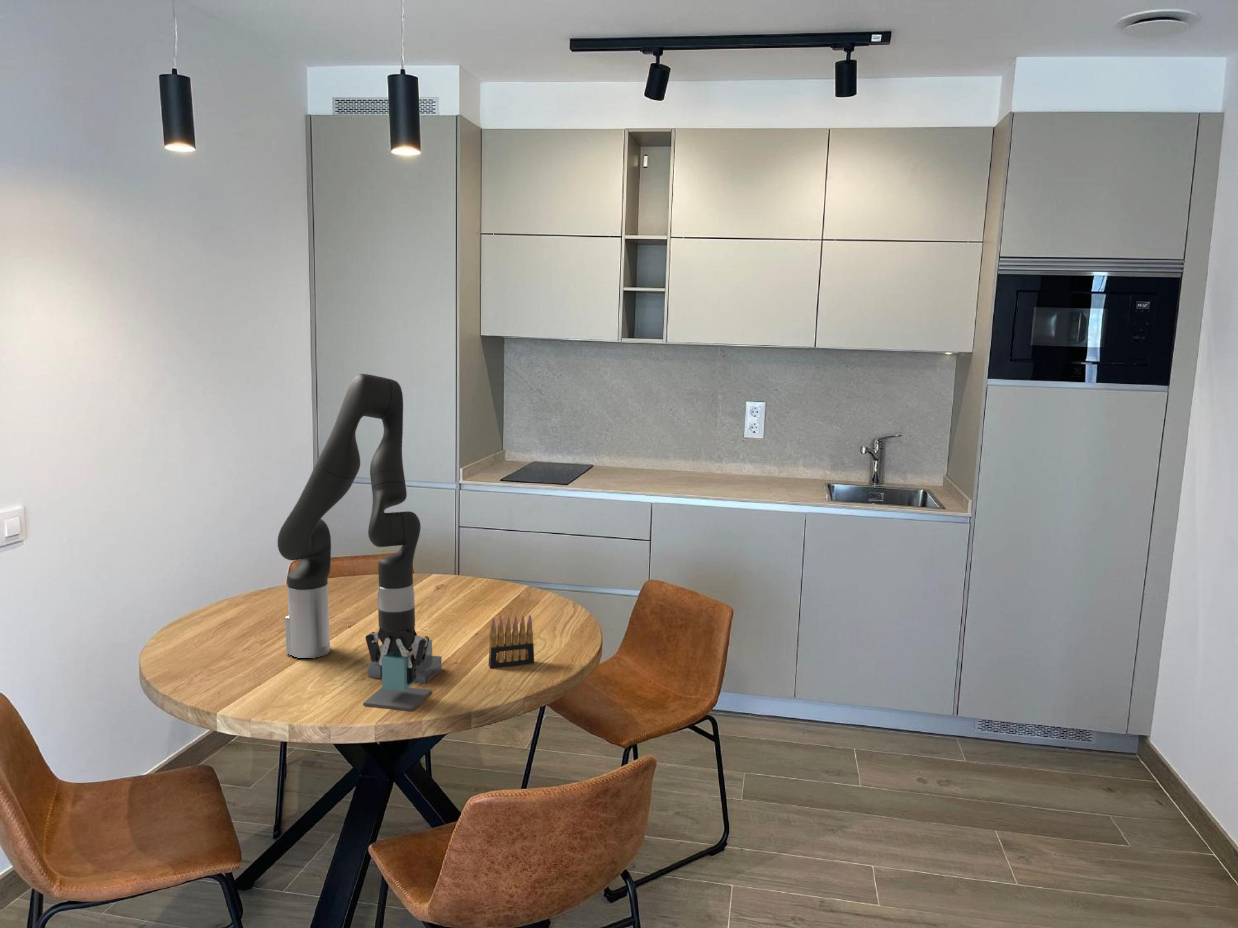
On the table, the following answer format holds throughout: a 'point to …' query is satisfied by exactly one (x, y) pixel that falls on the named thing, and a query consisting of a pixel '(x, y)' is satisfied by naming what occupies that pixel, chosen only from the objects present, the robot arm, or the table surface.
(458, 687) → the table surface
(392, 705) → the mat
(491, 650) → the ammunition clip
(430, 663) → the vise
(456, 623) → the table surface
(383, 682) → the sleeve
